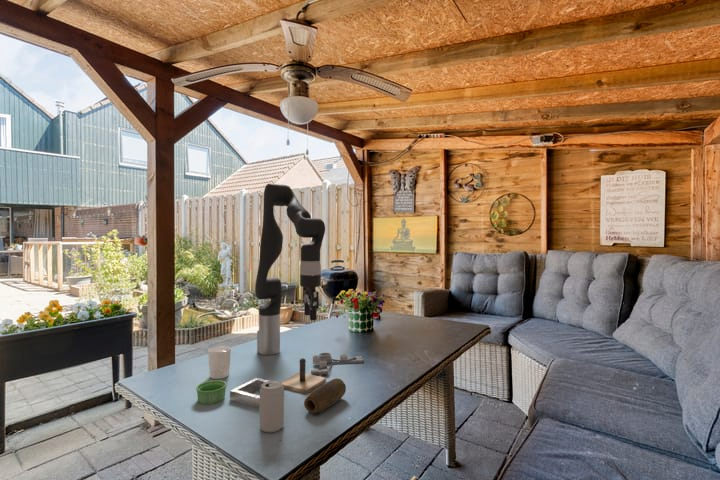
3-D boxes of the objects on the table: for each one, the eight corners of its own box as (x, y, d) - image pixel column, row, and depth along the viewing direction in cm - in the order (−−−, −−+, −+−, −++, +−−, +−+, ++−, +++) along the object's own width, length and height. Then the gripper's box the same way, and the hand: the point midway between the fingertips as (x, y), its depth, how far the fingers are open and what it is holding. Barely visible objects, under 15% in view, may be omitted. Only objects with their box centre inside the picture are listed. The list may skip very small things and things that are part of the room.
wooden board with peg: (278, 386, 127) (278, 360, 127) (298, 375, 138) (299, 351, 138) (306, 393, 122) (306, 366, 121) (326, 381, 132) (326, 356, 132)
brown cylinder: (329, 394, 122) (329, 374, 122) (347, 398, 119) (347, 378, 118) (301, 413, 109) (301, 391, 108) (321, 419, 105) (321, 396, 105)
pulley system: (294, 371, 144) (319, 379, 134) (294, 359, 145) (319, 366, 135) (343, 357, 165) (368, 363, 154) (343, 346, 165) (368, 351, 155)
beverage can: (262, 422, 103) (262, 379, 103) (285, 421, 104) (285, 379, 103) (257, 434, 97) (257, 389, 97) (282, 433, 97) (282, 388, 97)
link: (230, 400, 117) (230, 390, 117) (256, 386, 128) (256, 377, 127) (258, 408, 111) (258, 398, 111) (284, 393, 122) (284, 384, 122)
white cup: (235, 373, 139) (235, 347, 139) (221, 380, 132) (221, 353, 132) (218, 370, 142) (218, 344, 142) (203, 378, 135) (203, 350, 134)
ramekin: (232, 394, 121) (232, 381, 121) (215, 407, 112) (215, 392, 112) (208, 391, 123) (208, 378, 123) (189, 403, 114) (189, 389, 114)
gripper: (296, 271, 139) (296, 314, 139) (304, 275, 125) (304, 322, 126) (315, 271, 141) (315, 312, 142) (325, 274, 128) (325, 321, 128)
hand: (310, 317), depth 134 cm, fingers open, 8 cm apart
